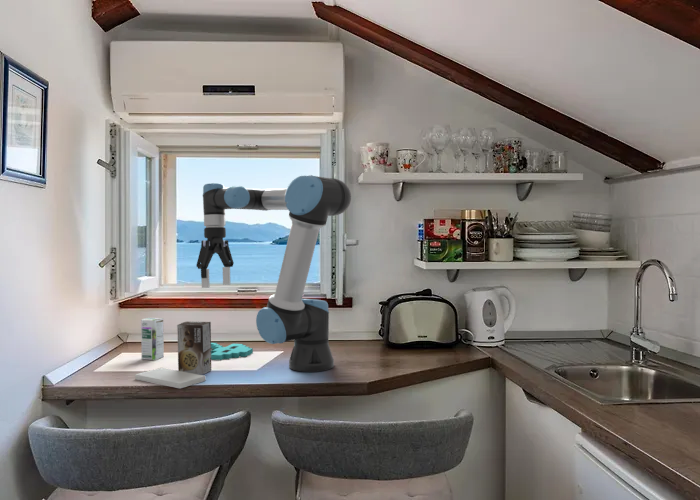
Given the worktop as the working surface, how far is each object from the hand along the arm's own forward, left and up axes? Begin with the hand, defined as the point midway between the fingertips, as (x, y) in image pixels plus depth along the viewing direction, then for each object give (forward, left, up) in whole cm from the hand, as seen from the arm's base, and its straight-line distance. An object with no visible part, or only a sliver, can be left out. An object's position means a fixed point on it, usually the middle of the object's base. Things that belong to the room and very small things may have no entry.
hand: (216, 286), depth 194 cm
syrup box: (+21, +11, -27) cm, 36 cm away
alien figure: (+4, -8, -27) cm, 29 cm away
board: (-8, +28, -26) cm, 39 cm away
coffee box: (-7, +17, -27) cm, 32 cm away
